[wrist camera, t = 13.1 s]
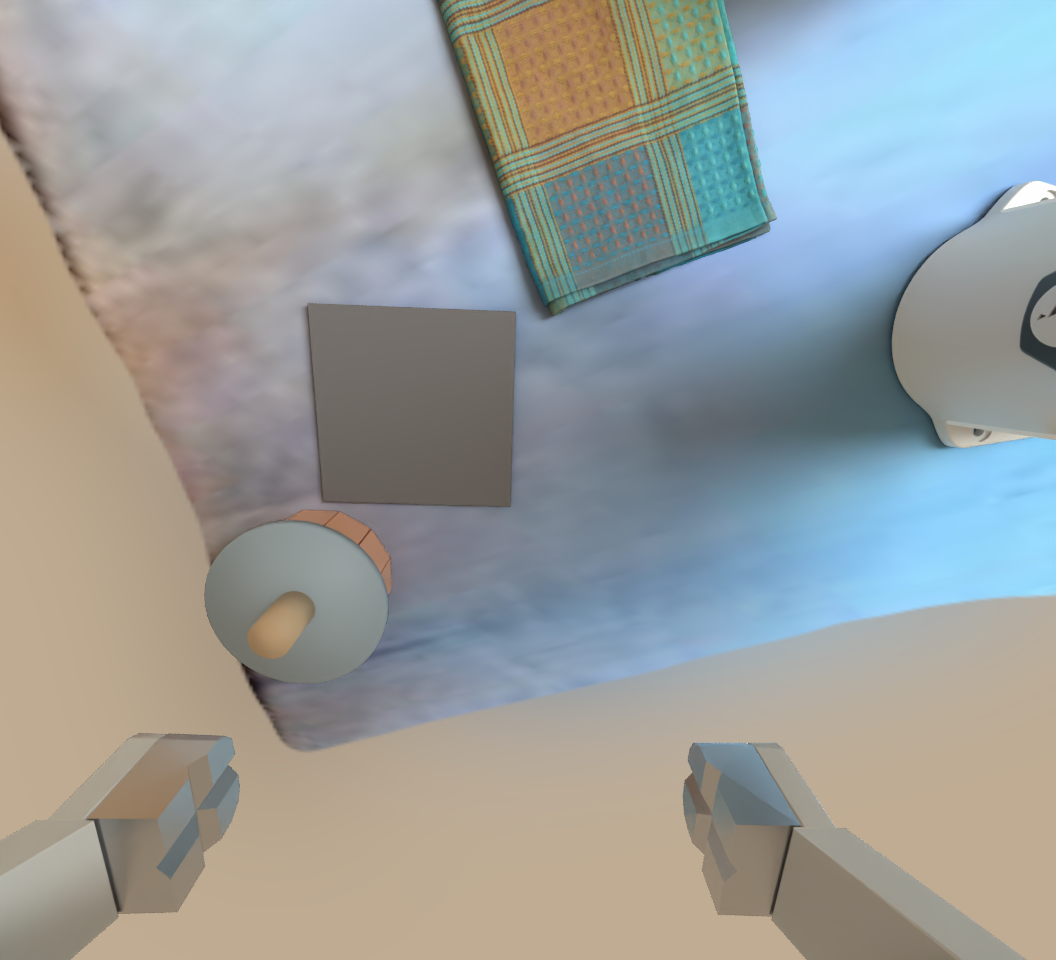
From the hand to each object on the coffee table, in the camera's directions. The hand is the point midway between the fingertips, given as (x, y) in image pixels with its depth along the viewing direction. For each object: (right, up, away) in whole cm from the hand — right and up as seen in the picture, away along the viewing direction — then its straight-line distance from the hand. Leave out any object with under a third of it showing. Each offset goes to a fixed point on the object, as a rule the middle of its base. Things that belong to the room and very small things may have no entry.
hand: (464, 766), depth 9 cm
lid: (-16, -4, +28) cm, 32 cm away
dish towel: (+6, +31, +25) cm, 40 cm away
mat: (-7, +11, +29) cm, 32 cm away
